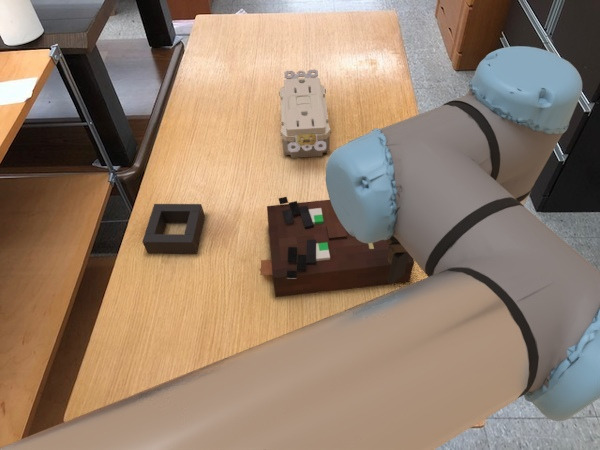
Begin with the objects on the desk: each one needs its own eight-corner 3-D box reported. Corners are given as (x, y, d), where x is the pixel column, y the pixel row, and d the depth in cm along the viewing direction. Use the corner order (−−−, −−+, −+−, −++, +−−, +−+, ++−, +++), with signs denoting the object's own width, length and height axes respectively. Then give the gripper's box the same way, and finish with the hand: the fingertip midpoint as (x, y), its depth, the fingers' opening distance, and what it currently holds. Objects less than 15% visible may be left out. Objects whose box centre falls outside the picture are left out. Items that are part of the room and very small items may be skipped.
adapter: (196, 254, 90) (192, 242, 87) (148, 253, 91) (141, 241, 88) (205, 216, 96) (201, 203, 93) (159, 215, 97) (154, 203, 94)
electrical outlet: (323, 95, 121) (323, 63, 113) (332, 175, 105) (334, 144, 96) (280, 97, 121) (277, 66, 113) (283, 177, 105) (280, 147, 96)
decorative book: (430, 263, 78) (258, 282, 77) (422, 286, 84) (263, 304, 83) (402, 184, 90) (254, 200, 89) (397, 209, 96) (258, 223, 95)
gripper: (621, 265, 39) (532, 359, 56) (405, 129, 51) (384, 239, 68) (576, 317, 36) (496, 400, 53) (358, 160, 49) (349, 267, 65)
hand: (433, 310), depth 60 cm, fingers open, 13 cm apart
